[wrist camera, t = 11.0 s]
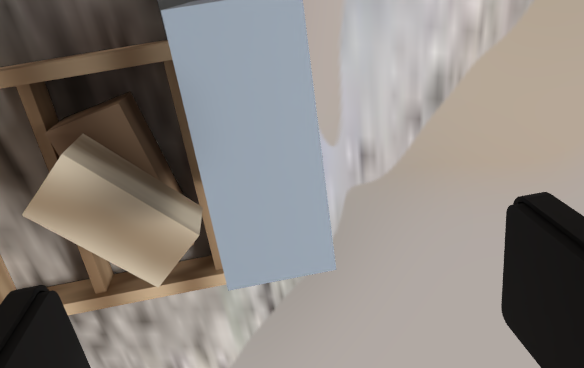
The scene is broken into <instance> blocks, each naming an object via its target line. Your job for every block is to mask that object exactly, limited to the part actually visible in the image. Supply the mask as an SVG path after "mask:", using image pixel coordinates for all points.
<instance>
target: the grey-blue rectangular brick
mask: <svg viewBox="0 0 584 368" xmlns="http://www.w3.org/2000/svg"><path fill="white" fill-rule="evenodd" d="M161 13H162V18H163V22H164V26H165V30H166V34H167V38H168V43H169V47H170V51H171V55H172V59H173V63H174V67H175V72H176V76H177V80H178V84H179V88H180V92H181V97H182V101H183V105H184V109H185V113H186V117H187V121H188V126H189V130H190V134H191V138H192V142H193V146H194V151H195V155H196V159H197V163H198V167H199V171H200V175H201V180H202V184H203V188H204V192H205V196H206V200H207V205H208V209H209V213H210V217H211V221H212V225H213V230H214V234H215V238H216V242H217V246H218V250H219V254H220V259H221V263H222V267H223V271H224V275H225V279H226V284H227V288H228V291H229V290H234V289H239V288H244V287H249V286H255V285H260V284H265V283H270V282H275V281H280V280H285V279H291V278H296V277H301V276H306V275H311V274H316V273H321V272H327V271H332V270H336V264H335V256H334V247H333V239H332V231H331V223H330V215H329V207H328V199H327V191H326V183H325V175H324V167H323V159H322V151H321V143H320V135H319V127H318V119H317V111H316V103H315V95H314V87H313V80H312V71H311V63H310V55H309V47H308V39H307V31H306V24H305V15H304V7H303V0H198V1H192V2H188V3H185V4H181V5H178V6H174V7H171V8H167V9H164V10H161Z"/></svg>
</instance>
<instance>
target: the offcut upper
mask: <svg viewBox="0 0 584 368" xmlns="http://www.w3.org/2000/svg"><path fill="white" fill-rule="evenodd" d="M202 211H203V207H201V206H200V205H198V204H197V203H195V202H193V201H192V200H190V199H188V198H187V197H185V196H184V195H182V194H180V193H179V192H177V191H176V190H174V189H172V188H171V187H169V186H167V185H166V184H164V183H163V182H161V181H159V180H158V179H156V178H154V177H153V176H151V175H150V174H148V173H146V172H145V171H143V170H142V169H140V168H138V167H137V166H135V165H133V164H132V163H130V162H129V161H127V160H125V159H124V158H122V157H120V156H119V155H117V154H116V153H114V152H112V151H111V150H109V149H108V148H106V147H104V146H103V145H101V144H99V143H98V142H96V141H95V140H93V139H91V138H90V137H88V136H86V135H85V134H82V135H81V136H80V137H79V138H78V139H77V140H76V141H75V142H74V143H73V144H71V145H70V146H69V147H68V148H67V149H66V150H65V151H64V152H63V153H62V154H61V156H60V157H59V159H58V161H57V162H56V164H55V165H54V167H53V168H52V170H51V171H50V173H49V174H48V176H47V177H46V179H45V180H44V182H43V184H42V185H41V187H40V188H39V190H38V191H37V193H36V194H35V196H34V197H33V199H32V200H31V202H30V203H29V205H28V207H27V208H26V210H25V211H24V213H23V214H22V216H24V217H26V218H28V219H30V220H32V221H34V222H36V223H37V224H39V225H41V226H43V227H45V228H47V229H49V230H51V231H52V232H54V233H56V234H58V235H60V236H62V237H64V238H66V239H68V240H69V241H71V242H73V243H75V244H77V245H79V246H81V247H83V248H85V249H86V250H88V251H90V252H92V253H94V254H96V255H98V256H100V257H101V258H103V259H105V260H107V261H109V262H111V263H113V264H115V265H117V266H118V267H120V268H122V269H124V270H126V271H128V272H130V273H132V274H133V275H135V276H137V277H139V278H141V279H143V280H145V281H147V282H149V283H150V284H152V285H154V286H156V287H158V288H159V286H160V285H161V284H162V282H163V281H164V280H165V279H166V277H167V276H168V275H169V274H170V272H171V271H172V270H173V268H174V267H175V266H176V265H177V263H178V262H179V261H180V260H181V258H182V257H183V256H184V254H185V253H186V252H187V251H188V249H189V248H190V247H191V245H192V244H193V243H194V242H195V240H196V239H197V238H198V237H199V235H200V227H201V219H202Z"/></svg>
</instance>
